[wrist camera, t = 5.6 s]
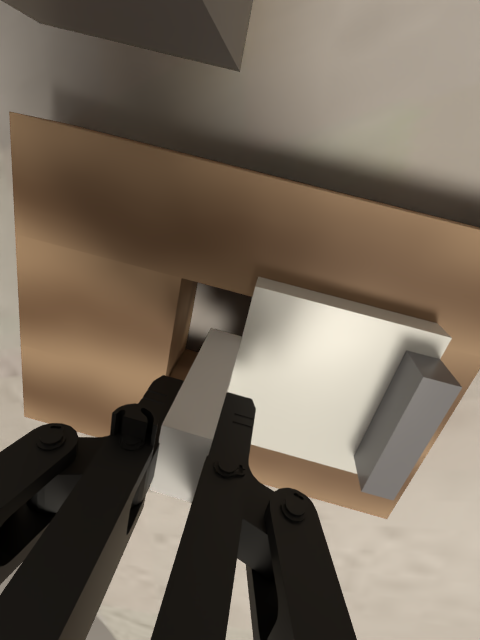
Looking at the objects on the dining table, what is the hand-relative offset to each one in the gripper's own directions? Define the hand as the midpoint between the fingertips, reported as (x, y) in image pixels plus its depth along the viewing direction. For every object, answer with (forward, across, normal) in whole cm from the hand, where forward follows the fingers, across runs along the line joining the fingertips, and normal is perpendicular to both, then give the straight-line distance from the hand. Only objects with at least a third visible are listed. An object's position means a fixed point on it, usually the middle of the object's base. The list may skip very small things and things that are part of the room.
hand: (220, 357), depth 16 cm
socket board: (+5, 0, 0) cm, 5 cm away
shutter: (+1, +5, 0) cm, 5 cm away
